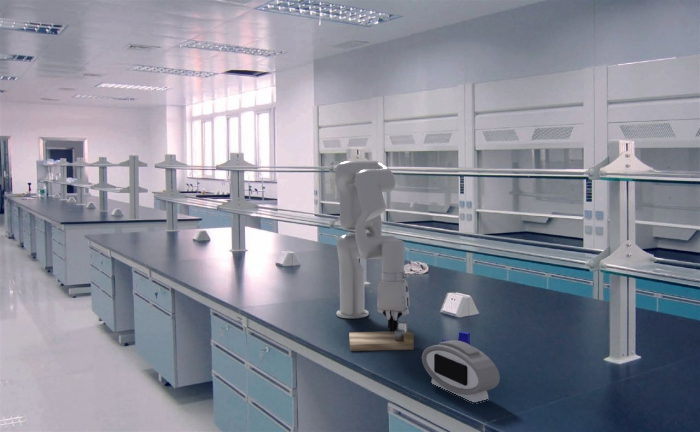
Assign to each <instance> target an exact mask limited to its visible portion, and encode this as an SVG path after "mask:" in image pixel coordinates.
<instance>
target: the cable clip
mask: <svg viewBox="0 0 700 432" xmlns="http://www.w3.org/2000/svg"><path fill="white" fill-rule="evenodd" d="M449 340H450V339H446V338H444V339H442V340H441V342H444V341H449ZM457 341H462V342H465V343H467V344H469V345H471V332H465V331H459V332H458V338H457Z"/></svg>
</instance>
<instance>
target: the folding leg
mask: <svg viewBox="0 0 700 432" xmlns="http://www.w3.org/2000/svg"><path fill="white" fill-rule="evenodd" d="M407 331H408V321H398V328H397V329H396V330H395V340H396V341H404V333H406V332H407Z"/></svg>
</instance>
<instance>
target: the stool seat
mask: <svg viewBox="0 0 700 432" xmlns="http://www.w3.org/2000/svg"><path fill="white" fill-rule="evenodd" d="M348 333H349V334H348V340H349V351H350V352H359V351H361V352H363V351H399V350H414V348H415V347H414V346H415V344H414V339H415V338H414V337H415V335H414V332H409V330H407V332H406V333H404V341H396V340H395V332H389V331H364V332H363V331H358V332H356V331H355V332H348Z"/></svg>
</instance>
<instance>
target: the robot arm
mask: <svg viewBox="0 0 700 432" xmlns="http://www.w3.org/2000/svg"><path fill="white" fill-rule="evenodd" d="M334 178H335V179H334V180H335V183H336V187H337V190H338V193H339V195H338V196H339V222H340V223H339V224H340V226H341V228H342V229H343V231H344V230H345V231H354V233H347V234H343V235H340V236H339V237H338V239H337V240H336V251H337V256H338V257H337V259H338V266H339V269H338V270H339V309H338V310H337V311H336V312H335V314H336V316H337V317H338V318H342V319H351V320H352V319H363V318H366V317H367V316H369V315H370V314H369V310H367V309H365V306H366V305H365V302H366V301H365V269H364V267H363V265H362V264H361V262H360V261H359V259H364V260H376V259H380V260H381V279H379V284H378V286H377V287H378V288H377V298H376V299H377V301H376V305H377V306H376V307H377V310H376V312H377V313H380V314H383V315H384V317H386V319H387V329H389V330H388V332H395V330H397V328H398V325H399V319H400V318H401V316H402V317H403V316H408V315H409V314H410V311H409V307H410V295H409V293H410V292H409V285H408V281H407V280H406V279H409V273H406V270H405V242H404V240H402V239H398V238H397V237H396V236H394V235H382V216H381V215H382V214H383V213H384V212H386V208H387V206H386V202H385V199H384V195H383V193H390V192H392V191H394V189H395V187H396V178H395V175H394V173H393V172H392V170H391V169H390V168H389V167H388V166H387V165H385V164H383V163H382V162H381V161H378V160H348V161H343V162H339V163H338V164H337V165H336V168H335V171H334ZM393 312H394V313H393Z"/></svg>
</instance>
